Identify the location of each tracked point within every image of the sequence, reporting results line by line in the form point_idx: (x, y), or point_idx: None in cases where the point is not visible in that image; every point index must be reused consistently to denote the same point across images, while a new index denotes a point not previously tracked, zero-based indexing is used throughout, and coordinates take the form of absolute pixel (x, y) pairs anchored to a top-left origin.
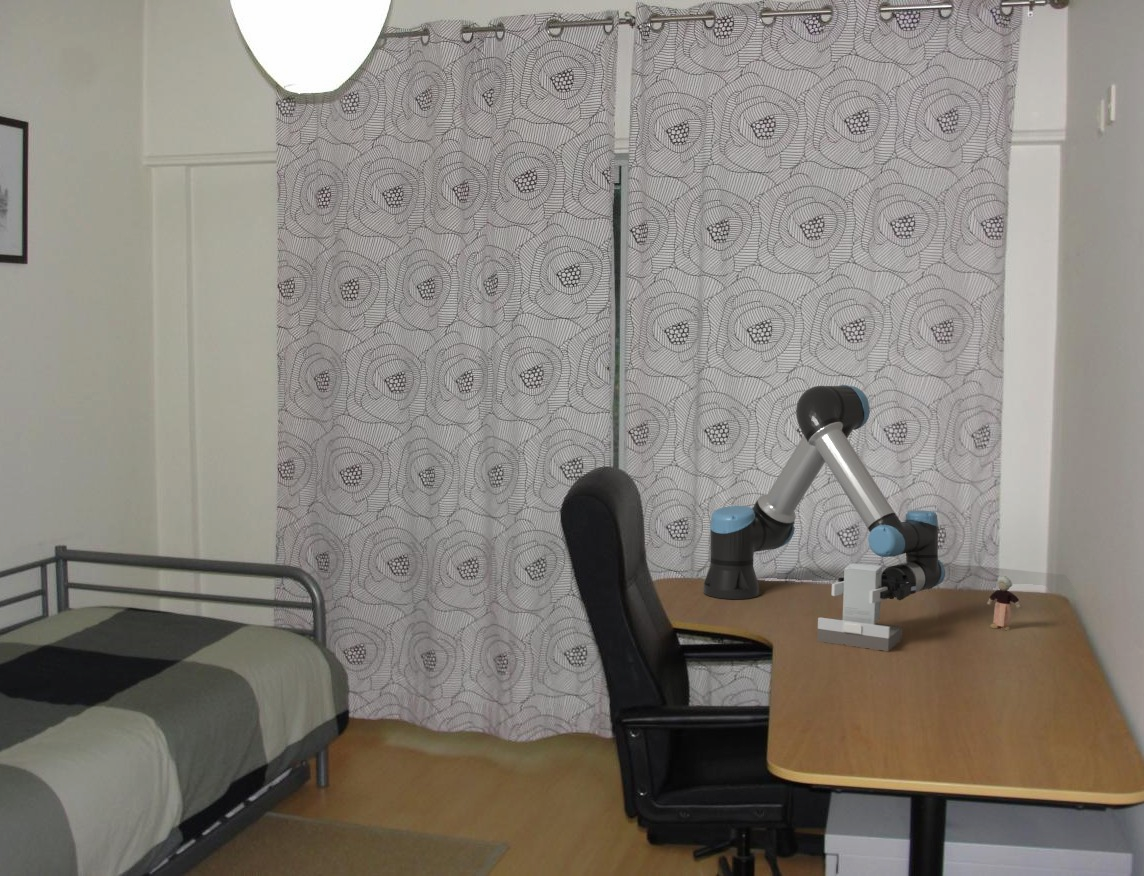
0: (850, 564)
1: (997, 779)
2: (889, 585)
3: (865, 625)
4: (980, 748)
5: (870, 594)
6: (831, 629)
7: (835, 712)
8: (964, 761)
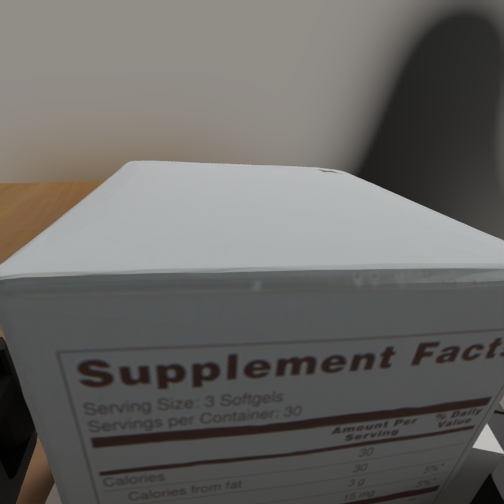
0: (466, 225)
1: (54, 183)
2: (2, 343)
3: None
4: (47, 197)
5: None
6: None
7: None
8: (70, 189)
